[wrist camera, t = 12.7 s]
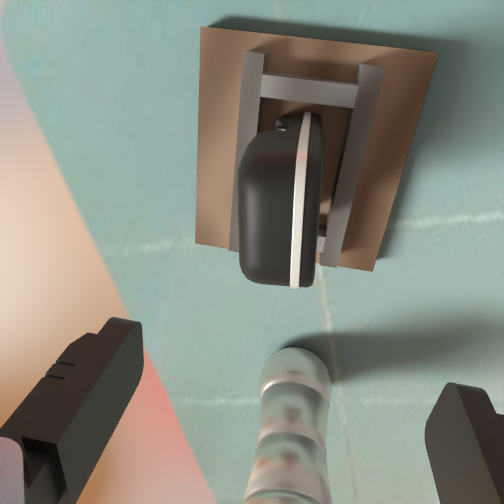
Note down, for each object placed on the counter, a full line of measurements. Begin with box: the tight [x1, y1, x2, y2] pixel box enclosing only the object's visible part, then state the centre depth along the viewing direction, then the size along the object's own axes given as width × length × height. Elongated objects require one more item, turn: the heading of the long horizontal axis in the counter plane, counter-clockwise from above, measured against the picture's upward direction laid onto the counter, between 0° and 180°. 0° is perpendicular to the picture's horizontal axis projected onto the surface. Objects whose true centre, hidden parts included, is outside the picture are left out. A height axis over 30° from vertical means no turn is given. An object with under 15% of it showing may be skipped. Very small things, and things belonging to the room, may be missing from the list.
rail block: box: [195, 26, 438, 272], centre depth 26 cm, size 14×15×4 cm
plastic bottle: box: [242, 347, 332, 504], centre depth 29 cm, size 6×7×20 cm
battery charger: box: [237, 112, 323, 289], centre depth 21 cm, size 7×4×11 cm, turn 1°
